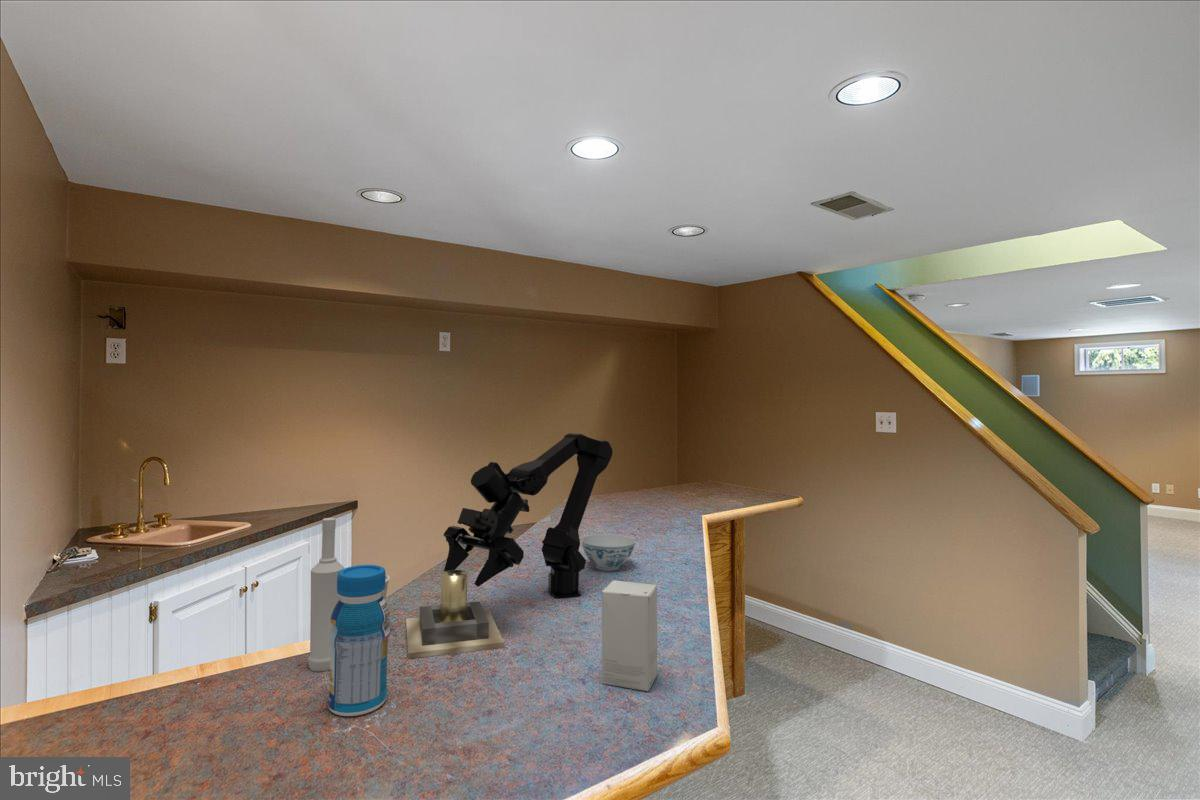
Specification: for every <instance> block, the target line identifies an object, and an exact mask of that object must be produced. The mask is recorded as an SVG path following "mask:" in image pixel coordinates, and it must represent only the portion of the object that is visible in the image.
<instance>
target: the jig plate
mask: <svg viewBox="0 0 1200 800" xmlns="http://www.w3.org/2000/svg"><path fill="white" fill-rule="evenodd" d="M493 617H494V616H493V615H492V613H491V611H490V610H484V607H483V605H482V604H481V601H473V602H472V601H469V602H467V612H466V620H465V621H455V622H445V623H440V604H438V605H428V606H427V605H425V606H420V607H419V617H411V618H405V630H406V631H405V632H406V633H405V634H406V644H407V645H406V647H407V659H408V660H410V659H419V658H427V657H436V656H443V655H444V656H445V655H453V654H462V653H469V652H477V651H486V650H493V649H496V650H497V649H503V648H505V641H504V639H503V636H502V635H501V633H500V632H501V631H499V628H498V626H497V624H496V622H495V619H494V618H493Z"/></svg>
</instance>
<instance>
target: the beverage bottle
mask: <svg viewBox="0 0 1200 800" xmlns="http://www.w3.org/2000/svg"><path fill="white" fill-rule="evenodd" d="M386 574H387V572H386V569H385V567H383V566H380V565H377V564H358V565H352V566H348V567H344V569H342V570H340V571H339V573H338V576H337V593H338V596H339V597H341V598H340V600H339V601H338V603H337V604H336V606H335V608H334V610H333V612H332V615H331V623H332V625H333V628H332V629H331V631H330V634H329V643H330V646H331V651H330V670H329V689H328V690H329V692H328V697H327V698H328V699H327V700H328V702H327V705H328V707H327V708H328V709H329V710H330V712H332V713H333V714H335V715H336V716H341V717H358V716H362V715H365V714H369V713H371V712H373V711H376V710H377V709H379V708H380V707H381V706H383V704H384V703H385V702H386V700H387V697H388V686H387V685H388V684H387V680H388V679H387V672H388V648H389V646H388V645H389V638H390V634H391V630H390V629H391V627H390V625H389V622H388V619H389V617H390V608H389V605H388V602H387V601H386V600H385V599H384V598H383V596H382V595H381V593H382V592H383V591H384V589H385V577H386Z"/></svg>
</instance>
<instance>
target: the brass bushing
mask: <svg viewBox="0 0 1200 800" xmlns="http://www.w3.org/2000/svg"><path fill="white" fill-rule="evenodd" d="M440 575H441V576H440V600H439V603H440V604H439V605H440V623H445V622H455V621H465V620H466V612H467V603H468V577H469V576H468V571H466V570H462V569H455V570H449V571H445V572H444V571H443V572H441V574H440Z"/></svg>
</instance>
